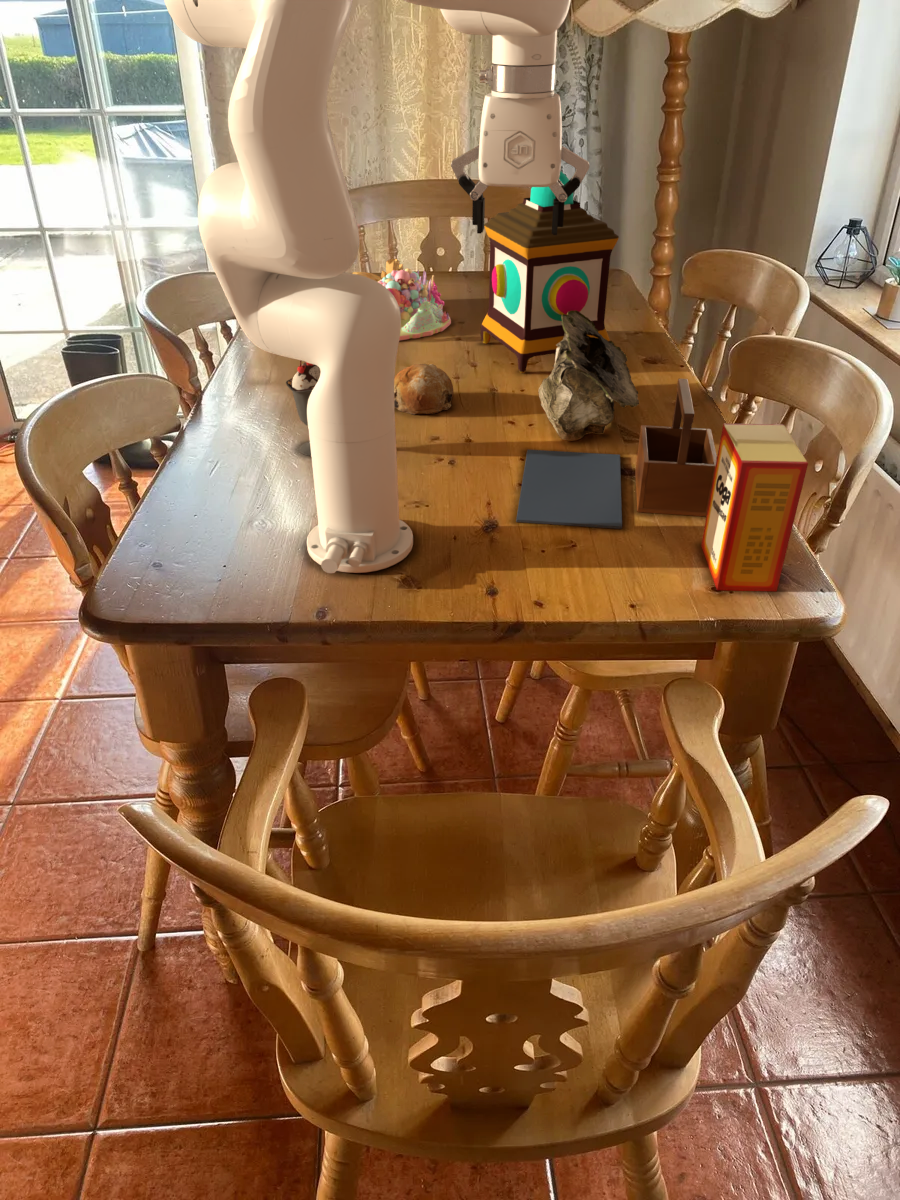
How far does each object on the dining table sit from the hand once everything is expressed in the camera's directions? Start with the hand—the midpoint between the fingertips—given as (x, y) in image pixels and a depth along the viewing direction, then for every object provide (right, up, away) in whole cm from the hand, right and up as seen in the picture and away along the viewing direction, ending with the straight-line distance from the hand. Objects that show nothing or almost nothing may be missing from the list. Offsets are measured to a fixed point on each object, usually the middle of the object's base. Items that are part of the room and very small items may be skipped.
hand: (517, 231), depth 118 cm
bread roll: (-14, -17, +25) cm, 33 cm away
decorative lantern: (+8, -4, +44) cm, 45 cm away
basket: (+20, -34, +1) cm, 40 cm away
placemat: (+7, -33, +2) cm, 34 cm away
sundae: (-28, -27, +12) cm, 40 cm away
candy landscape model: (-20, +7, +60) cm, 63 cm away
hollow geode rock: (+12, -19, +23) cm, 32 cm away
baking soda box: (+24, -44, -14) cm, 52 cm away
